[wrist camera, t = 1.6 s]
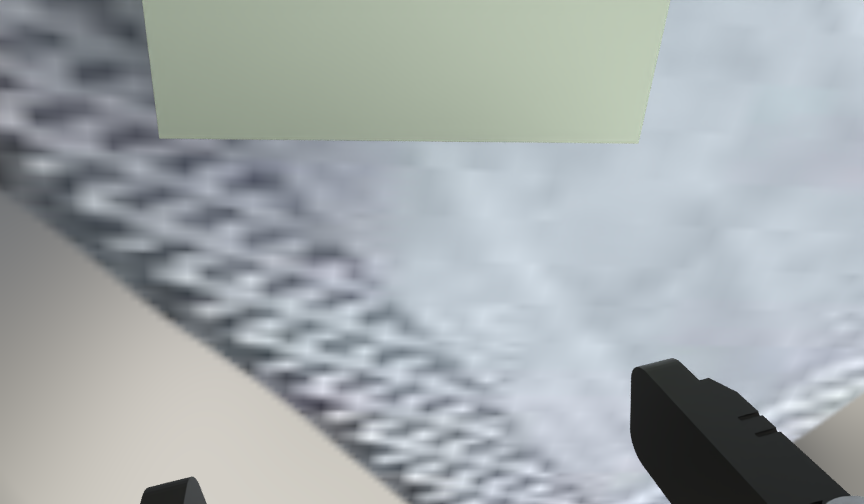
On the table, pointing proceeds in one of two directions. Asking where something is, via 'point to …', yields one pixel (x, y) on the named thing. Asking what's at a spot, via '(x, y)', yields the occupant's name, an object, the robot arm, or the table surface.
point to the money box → (404, 69)
